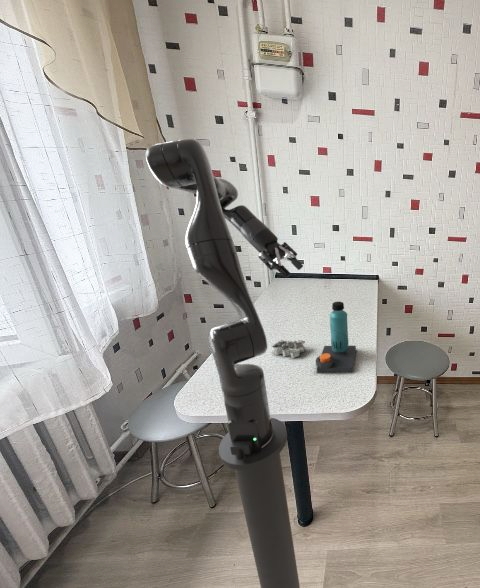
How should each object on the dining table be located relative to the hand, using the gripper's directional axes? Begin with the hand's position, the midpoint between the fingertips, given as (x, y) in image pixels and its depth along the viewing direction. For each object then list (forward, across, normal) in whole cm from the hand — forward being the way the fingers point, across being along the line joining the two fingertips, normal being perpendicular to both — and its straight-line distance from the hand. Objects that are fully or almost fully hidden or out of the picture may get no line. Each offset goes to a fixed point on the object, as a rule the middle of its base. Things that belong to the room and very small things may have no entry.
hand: (295, 271), depth 110 cm
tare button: (+29, +4, -14) cm, 32 cm away
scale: (+33, -1, -15) cm, 36 cm away
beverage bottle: (+32, -5, -14) cm, 35 cm away
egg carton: (+19, -3, -29) cm, 35 cm away
